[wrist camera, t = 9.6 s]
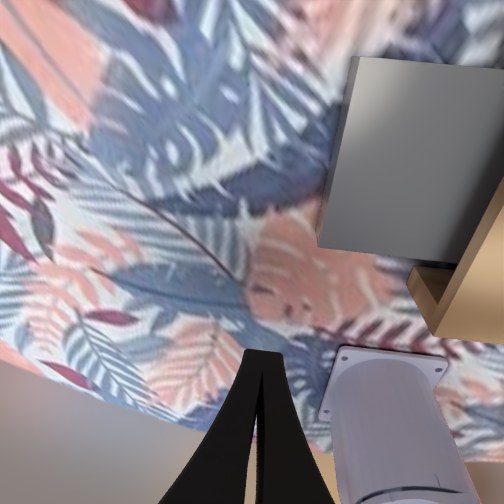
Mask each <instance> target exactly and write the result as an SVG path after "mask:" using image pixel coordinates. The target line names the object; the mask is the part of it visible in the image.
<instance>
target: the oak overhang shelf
mask: <svg viewBox="0 0 504 504" xmlns="http://www.w3.org/2000/svg"><path fill="white" fill-rule="evenodd" d="M406 286H407V288H408V290H409V291H410V293H411V295H412V297H413V299H414V301H415V303H416V305H417V307H418V309H419V311H420V312H421V314H422V316H423V318H424V320H425V322H426V324H427V326H428V328H429V330H430V332H431V333H432V335H433V337H442V338H450V339H458V340H467V341H475V342H484V343H492V344H501V345H504V176H503V178H502V180H501V182H500V184H499V186H498V188H497V190H496V192H495V194H494V196H493V198H492V200H491V202H490V204H489V206H488V207H487V209H486V211H485V213H484V215H483V217H482V219H481V221H480V223H479V225H478V227H477V229H476V231H475V233H474V235H473V237H472V239H471V241H470V243H469V245H468V247H467V249H466V251H465V253H464V255H463V257H462V259H461V261H460V263H459V265H458V266H457V268H456V270H448V269H439V268H430V267H421V266H414V267H413V269H412V271H411V274H410V276H409V278H408V281H407V283H406Z"/></svg>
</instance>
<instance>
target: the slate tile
mask: <svg viewBox="0 0 504 504" xmlns="http://www.w3.org/2000/svg"><path fill="white" fill-rule="evenodd" d="M503 176H504V70H503V69H492V68H481V67H470V66H459V65H448V64H437V63H426V62H415V61H404V60H393V59H382V58H372V57H352V59H351V64H350V69H349V74H348V78H347V83H346V88H345V93H344V97H343V102H342V107H341V112H340V116H339V121H338V126H337V130H336V135H335V140H334V145H333V149H332V154H331V159H330V164H329V168H328V173H327V178H326V183H325V187H324V192H323V197H322V202H321V206H320V211H319V216H318V221H317V225H316V230H315V231H316V237H317V243H318V247H320V248H328V249H337V250H345V251H354V252H363V253H371V254H380V255H388V256H397V257H405V258H414V259H422V260H431V261H439V262H448V263H457V264H459V263H460V261H461V259H462V257H463V255H464V253H465V251H466V249H467V247H468V245H469V243H470V241H471V239H472V237H473V235H474V233H475V231H476V229H477V227H478V225H479V223H480V221H481V219H482V217H483V215H484V213H485V211H486V209H487V207H488V206H489V204H490V202H491V200H492V198H493V196H494V194H495V192H496V190H497V188H498V186H499V184H500V182H501V180H502V178H503Z"/></svg>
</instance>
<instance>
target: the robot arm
mask: <svg viewBox="0 0 504 504" xmlns="http://www.w3.org/2000/svg"><path fill="white" fill-rule="evenodd" d="M343 356H345V357H343ZM447 367H448V362H447V360H446V359H445V358H442V357H434V356H426V355H418V354H409V353H401V352H393V351H384V350H376V349H368V348H360V347H351V346H342V347H341V348H339V350H338V353H337V357H336V360H335V363H334V366H333V369H332V372H331V375H330V379H329V382H328V385H327V388H326V391H325V394H324V397H323V401H322V404H321V407H320V410H319V413H318V416H319V419H320V420H322V421H328V422H330V428H331V437H332V445H333V454H334V462H335V471H336V478H337V487H338V493H339V497H340V501H341V504H482V503H481V501H480V498H479V496H478V494H477V491H476V489H475V487H474V485H473V482H472V480H471V478H470V475H469V473H468V471H467V469H466V466H465V464H464V462H463V459H462V457H461V455H460V452H459V450H458V448H457V446H456V443H455V441H454V439H453V436H452V434H451V432H450V430H449V427H448V425H447V423H446V420H445V418H444V416H443V414H442V411H441V409H440V407H439V404H438V402H437V400H436V398H435V395H434V393H433V389H434V388H435V386H436V384H437V383H438V381H439V380H440V378H441V376H442V375H443V373H444V371H445V370H446V368H447ZM256 415H257V465H256V467H257V469H256V470H257V471H256V472H257V473H256V474H257V475H256V476H257V477H256V478H257V479H256V501H255V504H335V503H334V500H333V498H332V497H331V495H330V493H329V491H328V488H327V486H326V484H325V482H324V480H323V478H322V476H321V473H320V471H319V469H318V467H317V464H316V462H315V460H314V458H313V456H312V453H311V450H310V448H309V445H308V443H307V440H306V438H305V435H304V432H303V430H302V427H301V424H300V421H299V419H298V416H297V412H296V409H295V406H294V403H293V400H292V397H291V393H290V389H289V385H288V381H287V377H286V373H285V368H284V361H283V355H282V354H281V353H279V352H270V351H262V350H254V349H246V350H244V355H243V358H242V362H241V365H240V368H239V370H238V373H237V375H236V378H235V380H234V382H233V385H232V387H231V389H230V391H229V393H228V395H227V397H226V399H225V401H224V403H223V405H222V407H221V409H220V411H219V413H218V414H217V416H216V418H215V420H214V422H213V424H212V425H211V427H210V429H209V430H208V432H207V434H206V435H205V437H204V439H203V441H202V442H201V444H200V445H199V447H198V448H197V450H196V451H195V453H194V454H193V456H192V458H191V459H190V460H189V462H188V463H187V465H186V466H185V468H184V469H183V471H182V472H181V474H180V475H179V476H178V478H177V479H176V480H175V482H174V483H173V485H172V486H171V487H170V488H169V490H168V491H167V492H166V494H165V495H164V496H163V498H162V499H161V500H160V501H159V503H158V504H244V499H245V488H246V477H247V467H248V460H249V455H250V449H251V443H252V438H253V432H254V426H255V421H256Z"/></svg>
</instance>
